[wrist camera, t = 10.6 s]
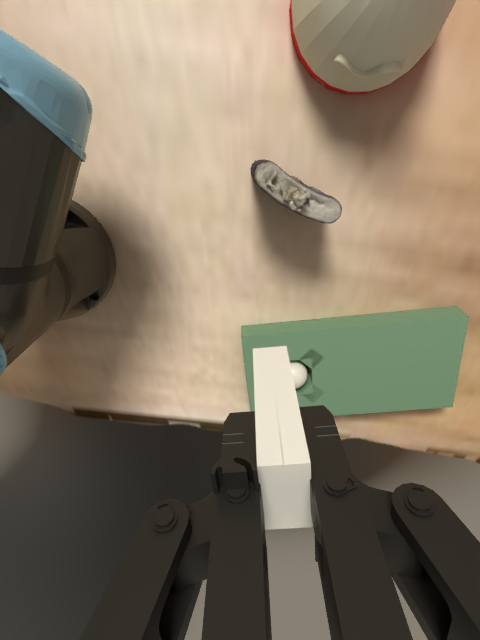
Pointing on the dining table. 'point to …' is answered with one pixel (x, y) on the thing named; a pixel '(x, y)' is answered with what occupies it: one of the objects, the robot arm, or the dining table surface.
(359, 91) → the kitchen timer
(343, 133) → the dining table surface
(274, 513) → the robot arm
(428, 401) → the putting mat
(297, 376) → the ball
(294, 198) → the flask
